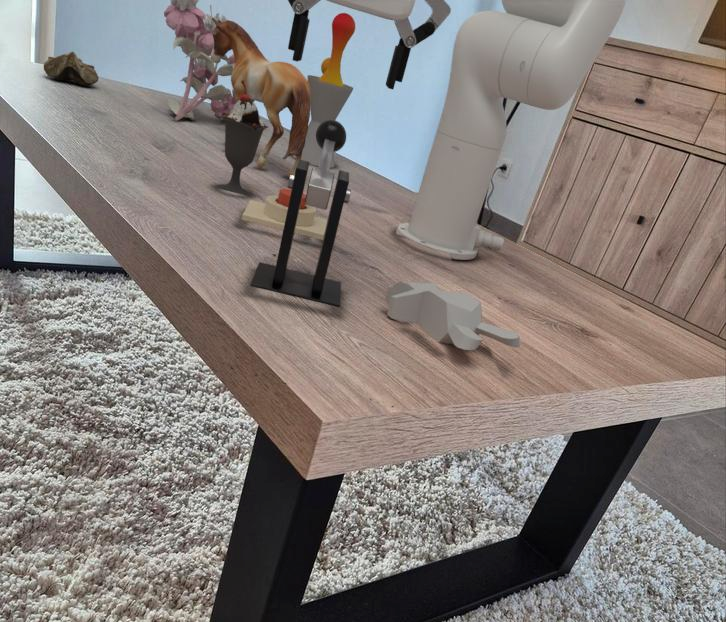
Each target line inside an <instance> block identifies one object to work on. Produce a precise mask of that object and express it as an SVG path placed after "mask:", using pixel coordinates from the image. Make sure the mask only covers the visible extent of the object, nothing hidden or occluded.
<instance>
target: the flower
mask: <svg viewBox="0 0 726 622" xmlns="http://www.w3.org/2000/svg"><path fill="white" fill-rule="evenodd" d="M199 1H200V0H170V5H168V6H167V7H166V8H165V10H164V11H163V17H165V23H166V26H167V27H169V28H170V29H171V30H172V31H174V35H175V38H174V39H173V44H172V45H173V46H172V47H173V48H172V49H173V50H174V49H176V48H177V47H180V48H181V51H182V53H184V54H185V55H186V56H185V57H184V58H185V59H186V58H189V64H188V70H187V76H184V77H182V79H180V82H184V83H185V91H184V94H183V97H182V99H181V101H180V102H178V101H176V100H175V99H174V98H168V100H167V101H168V107H169V109H170V111H171V112H173V113H174V114H175V115H176V116H174V119H175V121H176V122H177V121H179V120H181V119H183V118H187V119H189V120H190V121H194V111H193V110H195V109H196V108H197V107H198V106H200V105H201V104H202V103H203V102H204V101H205V100H210V109H211V111H212V112H213V113H214V115H213V117H215V118H216V119H217V120H223V119H222V118H221V114H222V113H230V111H231V110H232V108H233V107H234V106H235V104H236V100H235V92H234V90H233V88H232V90H231V89H229V88H227V87H225V85H223V84H218V83H219V76H220V77H231V75H232V71H233V69H234V67H235V60H234V54H232V55H230V56H229V57H228V56H227V55H226V54H225V55H224V56H223V57H222V58H221V60H223V61H225V62H226V64H223V65H222V66H220V67H219V68H218V65H219V63H214V62H213V60H212V59H211V53H212V49H213V43H214V38H213V35H212V34H213V32H214V30H215V28H216V24H215V23H214V21H213V20H212V18H214V19H215V20H216V21H218V20H220V21H221V22H225V21H227V20H228V18H227V17H226V16H224V14H222V15H221V17H220V13H219V12H216V14H215V15H214V16H213V11H212V4H210V5H209V10H210V14H208V13H205V12H204V11H203V10H202V9H200V8H199V7H197V4H198V3H199ZM210 86H212V87H211V88H209V87H210ZM191 88H192V89H193V90H194V91H195V95H194V96H193V97H192V99H190V101H189V102H188V99H189V96H190V92H191Z"/></svg>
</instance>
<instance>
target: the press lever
mask: <svg viewBox="0 0 726 622" xmlns="http://www.w3.org/2000/svg"><path fill="white" fill-rule="evenodd" d="M316 141H317V143H318V145H319V147H320V148H321V149H323V150H322V154H321V159H320V163H319V166H317V167H312V168H311V171H310V172H311V173H310V177H309V180H308V185H307V189H306V194H305V195H306V199H305V203H304V204H305V205H309V206H313V207H314V208H316V209H320V210H324V211H326V210H328V205H329V203H330V197H331V193H332V188H333V183H334V178H335V174H336V173H334V172H331V171H330V169H331V168H330V165H331V160H332V155H333V152H334V153H336V152H339V151H340V150H342V148H343V147H344V146H345V144H346V142H347V131H346V129H345V127H344V125H343V124H341V122H339V121H338V120H326V121H324V122H322V123H321V124H320V125H319V127H318V128H317V131H316Z"/></svg>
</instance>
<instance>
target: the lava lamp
mask: <svg viewBox="0 0 726 622" xmlns="http://www.w3.org/2000/svg"><path fill="white" fill-rule="evenodd" d="M355 31H356V22H355V20H354V18H353V16H352V15H350V14H349V13H346V12H341V13H338V14H337V15H335V16H334V18H333V19H332V22H331V36H332V38H331V39H332V41H331V42H332V45H331V53H330V57H326V58H325V59H324V60H322V62H321V65H320V71H321V74H322V75H321V76H316V75H311V74H308V75H307V78H306V80H307V81H308V83H309V85H310V90H311V94H310V118H311V119H310V120H309V123H308V132H307V135H306V138H305V145H304V148H303V151H302V157H301V160H304V161H307V162H309V165H311V166H315V167H319V163H320V159H321V154H322V150H323V149H321V148H320V147H319V145H318V143H317V141H316V131H317V128H318V127H319V125H320V124H321V123H322V122H324V121H326V120H335V121H337V119H338V117H339V115H340V113H341V112H342V110H343V108H344V106H345V104H346V103H347V101H348V100H349V98H350V96H351V94H352V92H353V91H354V87H353V86H352V85H351V86H350V85H349V84H345V83H344V82H343V79H342V74H341V67H342V66H341V65H342V58H343V55H344V54H343V53H344V51H345V49H346V47H347V45H348V43H349V41H350V40H351V38H352V37H353V35H354V34H355ZM291 156H292V157H293V159H296V156H295V155H291ZM331 168H335V152H333V155H332V160H331V165H330V169H331Z"/></svg>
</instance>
